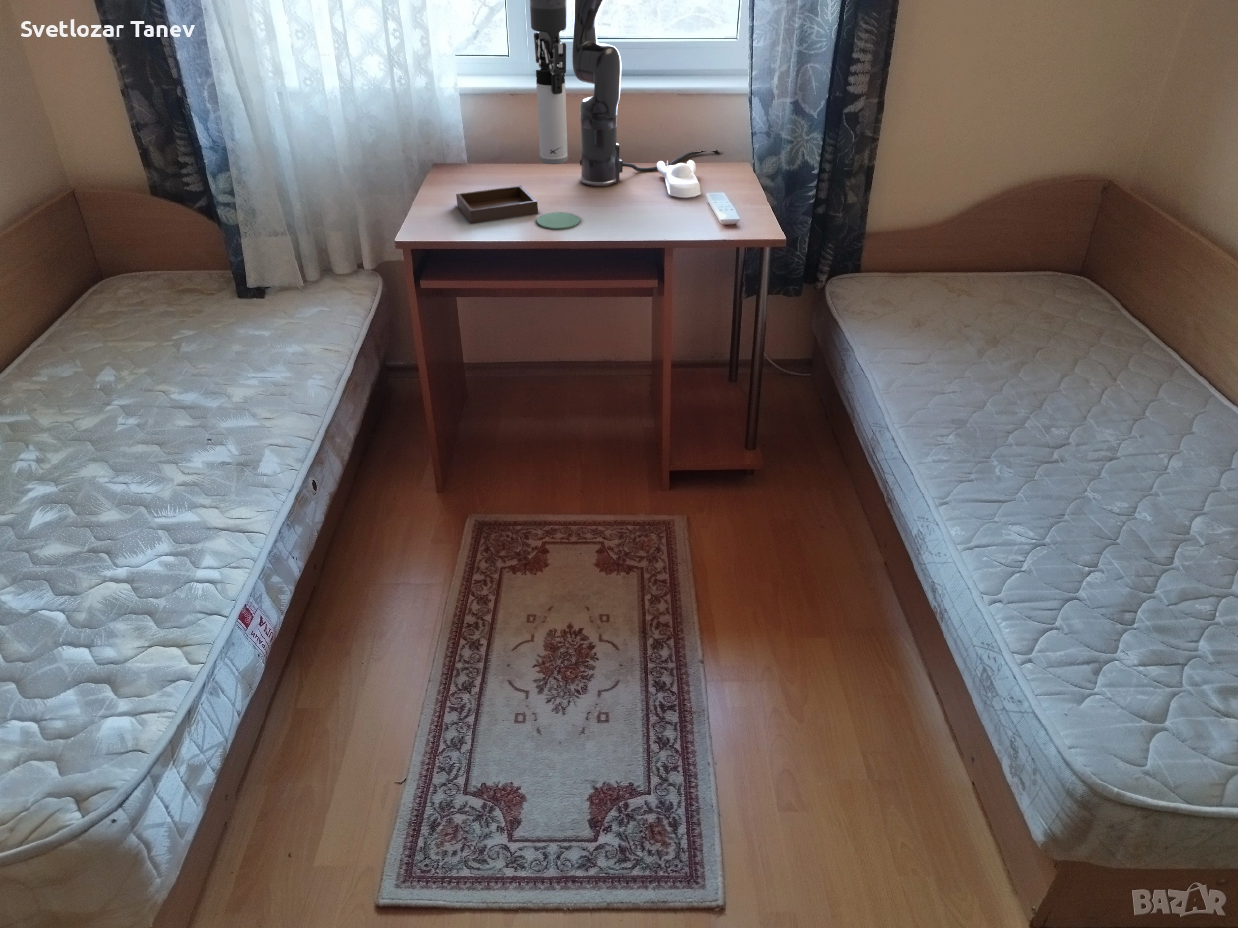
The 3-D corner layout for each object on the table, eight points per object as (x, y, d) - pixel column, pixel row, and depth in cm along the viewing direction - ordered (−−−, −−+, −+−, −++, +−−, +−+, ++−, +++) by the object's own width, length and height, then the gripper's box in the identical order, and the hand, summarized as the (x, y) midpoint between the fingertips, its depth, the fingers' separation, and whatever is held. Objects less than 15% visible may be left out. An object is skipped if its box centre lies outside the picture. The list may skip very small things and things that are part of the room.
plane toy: (665, 200, 218) (666, 177, 215) (656, 174, 234) (656, 152, 231) (706, 199, 219) (707, 176, 216) (694, 173, 235) (695, 151, 232)
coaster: (570, 211, 212) (570, 210, 211) (585, 225, 204) (585, 224, 204) (531, 217, 208) (531, 215, 208) (545, 232, 201) (545, 230, 201)
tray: (521, 197, 220) (520, 185, 218) (538, 213, 210) (537, 201, 209) (457, 206, 214) (456, 194, 213) (471, 223, 205) (470, 211, 203)
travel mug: (558, 166, 194) (554, 70, 183) (534, 161, 197) (529, 66, 185) (574, 159, 199) (571, 65, 187) (550, 154, 201) (546, 61, 190)
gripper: (577, 8, 175) (579, 96, 185) (553, -3, 186) (556, 81, 196) (542, 11, 173) (546, 99, 183) (520, 0, 183) (524, 84, 193)
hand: (551, 89), depth 189 cm, fingers closed on travel mug, 6 cm apart
